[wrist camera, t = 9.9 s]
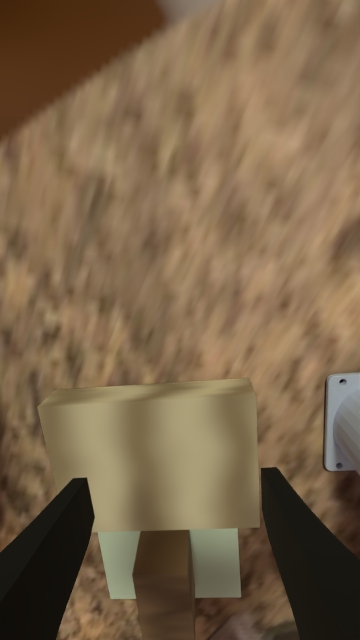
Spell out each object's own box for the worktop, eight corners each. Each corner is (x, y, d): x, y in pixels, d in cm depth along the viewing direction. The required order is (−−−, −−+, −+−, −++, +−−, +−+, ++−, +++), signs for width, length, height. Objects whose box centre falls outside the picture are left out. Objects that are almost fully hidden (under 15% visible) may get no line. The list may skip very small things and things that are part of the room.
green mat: (235, 505, 25) (236, 510, 24) (240, 591, 27) (241, 597, 26) (96, 509, 25) (94, 515, 25) (112, 592, 28) (110, 598, 27)
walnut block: (187, 574, 21) (195, 643, 22) (188, 522, 25) (195, 585, 26) (132, 574, 21) (143, 644, 23) (141, 524, 25) (151, 586, 27)
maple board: (249, 377, 22) (255, 394, 19) (253, 499, 24) (260, 527, 22) (54, 390, 23) (37, 407, 20) (78, 505, 25) (66, 533, 23)
